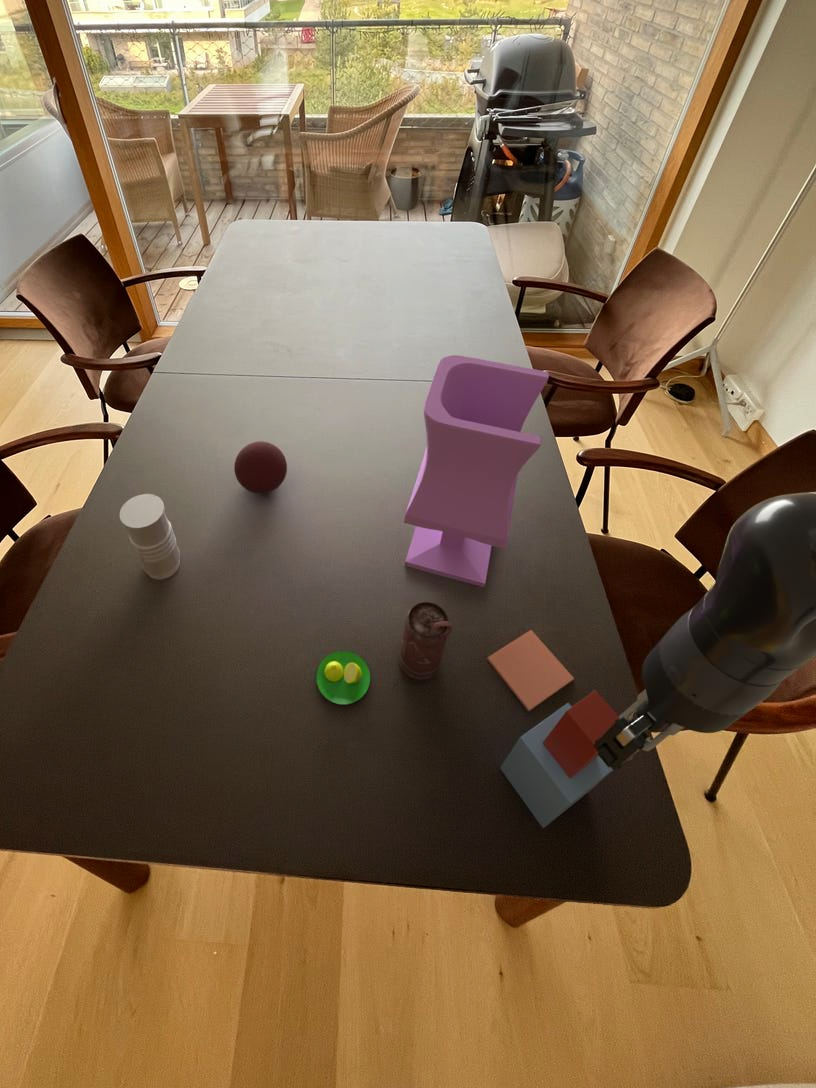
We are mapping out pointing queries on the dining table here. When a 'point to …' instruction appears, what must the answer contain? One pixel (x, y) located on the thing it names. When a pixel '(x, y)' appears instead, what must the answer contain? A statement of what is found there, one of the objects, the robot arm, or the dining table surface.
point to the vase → (470, 464)
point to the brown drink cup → (423, 642)
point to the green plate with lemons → (343, 677)
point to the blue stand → (548, 773)
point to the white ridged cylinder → (151, 535)
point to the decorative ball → (260, 467)
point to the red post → (580, 733)
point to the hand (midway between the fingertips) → (636, 735)
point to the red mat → (530, 670)
